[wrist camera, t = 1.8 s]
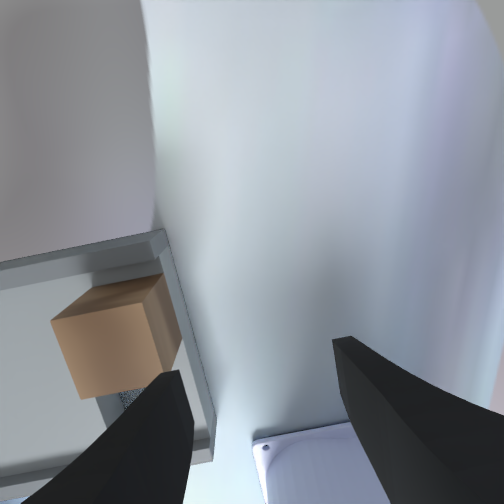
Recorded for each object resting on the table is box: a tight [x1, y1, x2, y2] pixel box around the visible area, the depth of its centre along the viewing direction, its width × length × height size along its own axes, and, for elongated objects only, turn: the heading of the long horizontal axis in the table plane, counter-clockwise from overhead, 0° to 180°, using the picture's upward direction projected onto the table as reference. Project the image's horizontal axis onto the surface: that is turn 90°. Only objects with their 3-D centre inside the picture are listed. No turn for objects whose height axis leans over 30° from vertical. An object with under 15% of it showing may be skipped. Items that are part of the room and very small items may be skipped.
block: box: [50, 273, 182, 400], centre depth 16 cm, size 4×4×4 cm
